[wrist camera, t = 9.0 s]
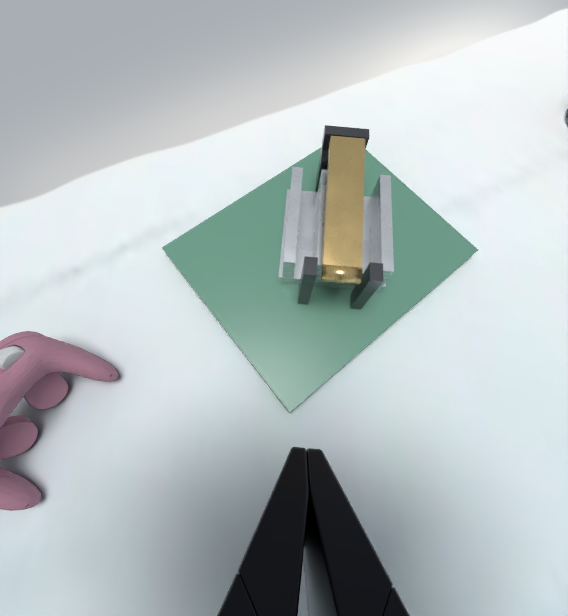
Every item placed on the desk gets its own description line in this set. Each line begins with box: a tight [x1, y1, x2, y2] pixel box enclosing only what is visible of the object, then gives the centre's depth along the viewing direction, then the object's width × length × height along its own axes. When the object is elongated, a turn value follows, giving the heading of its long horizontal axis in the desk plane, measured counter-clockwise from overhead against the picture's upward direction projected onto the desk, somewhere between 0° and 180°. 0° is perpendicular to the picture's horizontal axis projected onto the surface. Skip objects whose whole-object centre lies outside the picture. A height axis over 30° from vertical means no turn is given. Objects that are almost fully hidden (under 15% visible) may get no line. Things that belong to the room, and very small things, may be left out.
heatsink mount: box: [278, 125, 394, 310], centre depth 23 cm, size 12×8×5 cm, turn 175°
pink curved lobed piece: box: [0, 331, 118, 511], centre depth 19 cm, size 10×5×7 cm, turn 155°
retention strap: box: [321, 136, 365, 284], centre depth 21 cm, size 10×2×1 cm, turn 175°
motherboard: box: [162, 147, 478, 413], centre depth 26 cm, size 16×20×1 cm
